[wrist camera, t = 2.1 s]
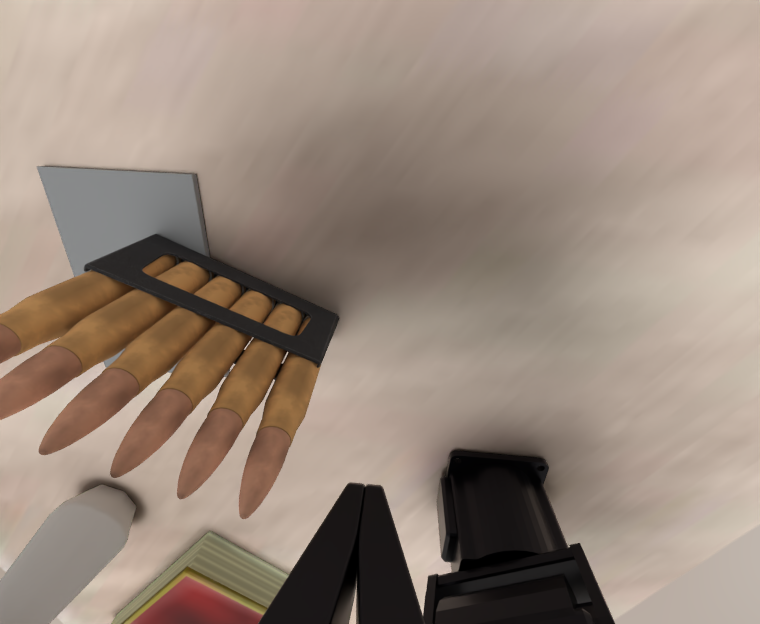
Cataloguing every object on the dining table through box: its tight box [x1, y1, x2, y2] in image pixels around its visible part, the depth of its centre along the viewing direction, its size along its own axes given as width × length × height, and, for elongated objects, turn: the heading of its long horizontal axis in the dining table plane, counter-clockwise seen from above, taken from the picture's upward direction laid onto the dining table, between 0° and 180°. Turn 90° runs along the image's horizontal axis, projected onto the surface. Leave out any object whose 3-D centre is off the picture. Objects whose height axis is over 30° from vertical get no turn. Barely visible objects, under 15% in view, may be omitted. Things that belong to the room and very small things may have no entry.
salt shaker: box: [0, 484, 136, 624], centre depth 23 cm, size 6×6×13 cm
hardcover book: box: [111, 531, 289, 624], centre depth 33 cm, size 12×21×4 cm, turn 139°
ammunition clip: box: [0, 234, 339, 519], centre depth 14 cm, size 11×2×12 cm, turn 63°
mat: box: [37, 166, 229, 377], centre depth 20 cm, size 8×12×1 cm, turn 178°
